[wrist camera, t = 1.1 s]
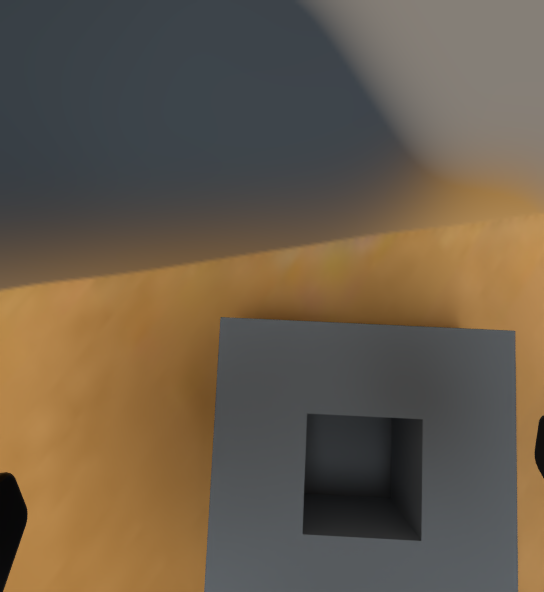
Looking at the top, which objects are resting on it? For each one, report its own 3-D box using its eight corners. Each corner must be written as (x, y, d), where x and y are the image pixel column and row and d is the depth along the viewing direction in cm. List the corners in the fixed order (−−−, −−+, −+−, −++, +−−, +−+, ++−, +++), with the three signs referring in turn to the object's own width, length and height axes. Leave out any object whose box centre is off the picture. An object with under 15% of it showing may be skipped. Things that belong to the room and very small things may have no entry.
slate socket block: (461, 576, 23) (518, 649, 18) (219, 563, 23) (202, 630, 18) (462, 333, 25) (515, 330, 19) (233, 322, 25) (220, 317, 19)
